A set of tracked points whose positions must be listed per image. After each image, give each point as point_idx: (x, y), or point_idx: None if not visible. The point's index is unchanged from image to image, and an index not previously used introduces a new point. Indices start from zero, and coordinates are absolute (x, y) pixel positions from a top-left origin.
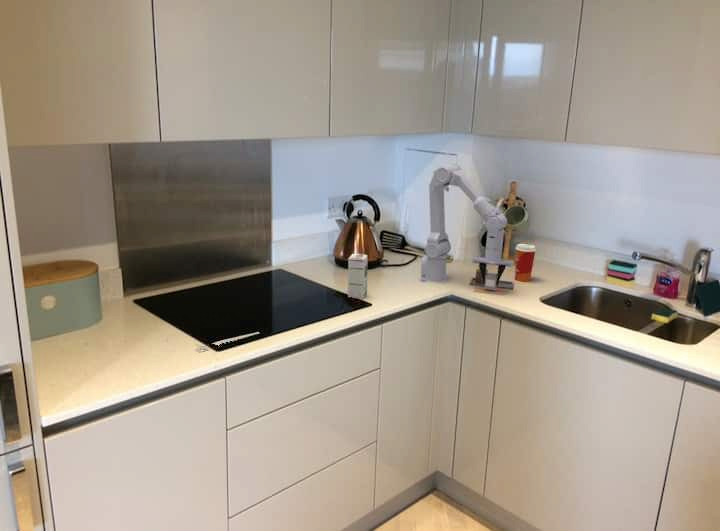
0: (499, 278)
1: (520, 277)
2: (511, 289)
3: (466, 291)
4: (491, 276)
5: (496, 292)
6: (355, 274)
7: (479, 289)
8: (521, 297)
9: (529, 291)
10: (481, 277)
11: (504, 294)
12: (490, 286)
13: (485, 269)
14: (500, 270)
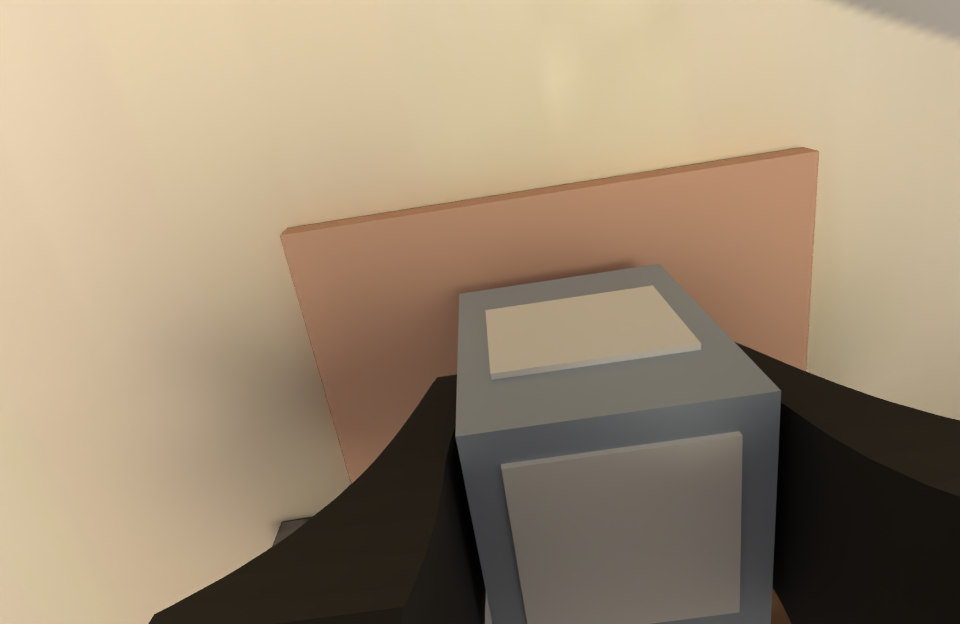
0: (389, 444)
1: None
2: (290, 533)
3: (926, 168)
4: (603, 410)
5: (441, 288)
6: None
7: (729, 301)
8: (56, 317)
9: (86, 596)
10: (780, 619)
11: (295, 254)
12: (560, 301)
13: (934, 508)
14: (305, 585)
